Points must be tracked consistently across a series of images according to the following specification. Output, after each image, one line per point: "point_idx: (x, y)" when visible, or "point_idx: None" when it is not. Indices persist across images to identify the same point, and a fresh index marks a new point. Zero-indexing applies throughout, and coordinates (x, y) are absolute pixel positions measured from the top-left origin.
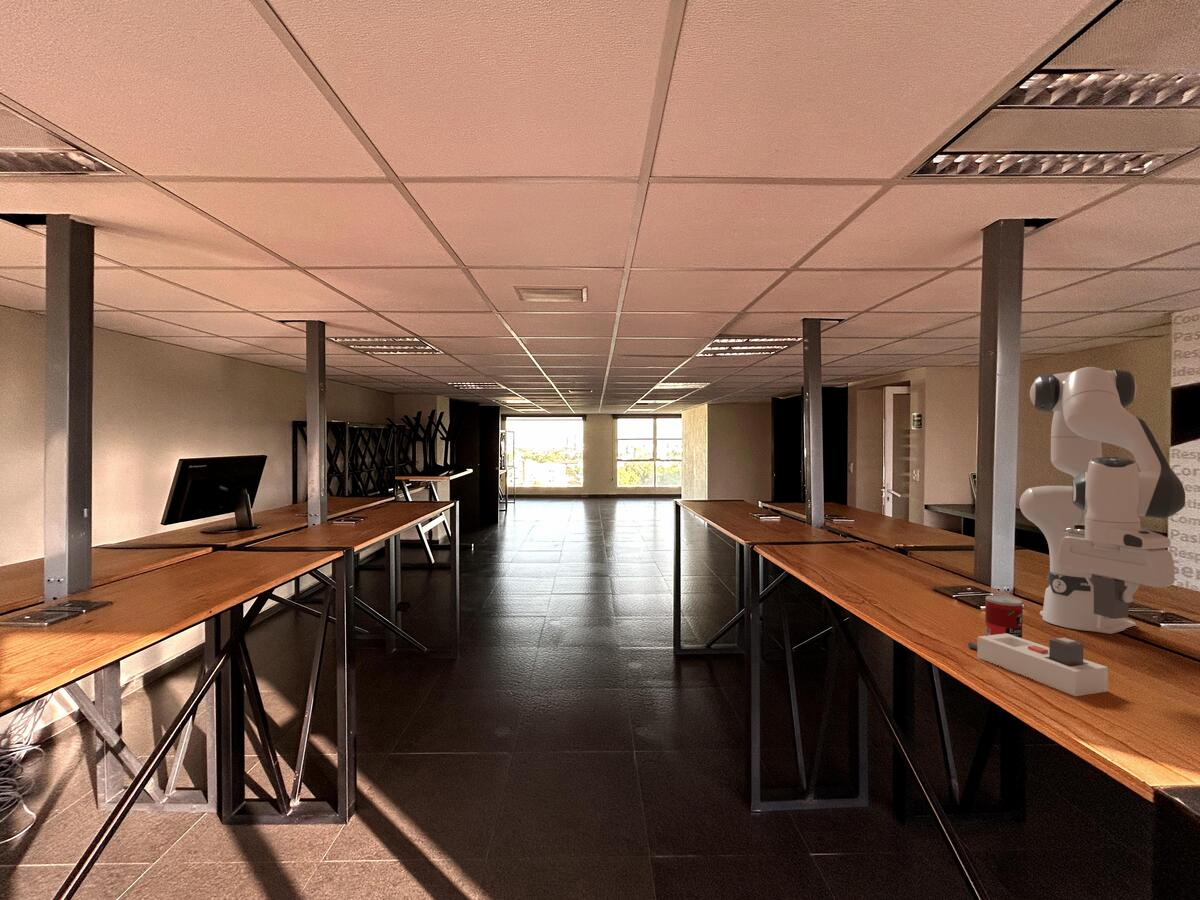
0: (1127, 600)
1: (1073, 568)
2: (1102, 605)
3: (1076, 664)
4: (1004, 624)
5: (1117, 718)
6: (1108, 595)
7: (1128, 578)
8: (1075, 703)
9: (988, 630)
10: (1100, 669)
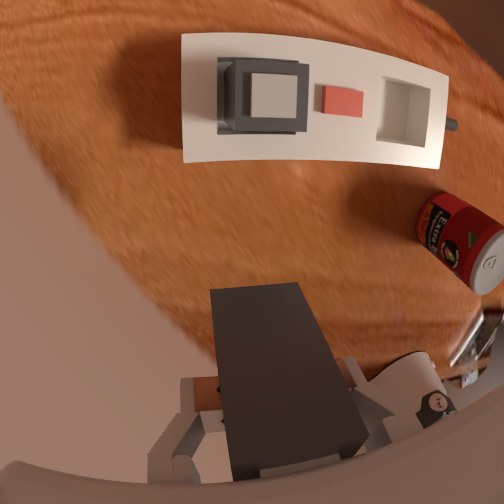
0: (181, 387)
1: (474, 411)
2: (271, 318)
3: (227, 96)
4: (458, 216)
5: (81, 39)
6: (252, 368)
7: (146, 502)
8: (157, 15)
9: (464, 201)
10: (182, 131)
